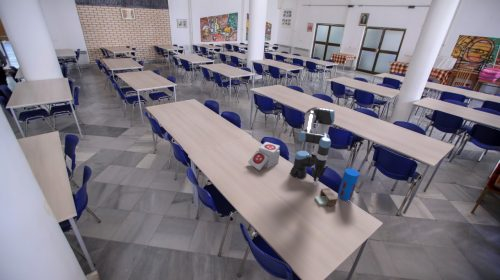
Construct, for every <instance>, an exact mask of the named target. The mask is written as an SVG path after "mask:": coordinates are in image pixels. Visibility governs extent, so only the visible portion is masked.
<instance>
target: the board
mask: <svg viewBox="0 0 500 280" xmlns="http://www.w3.org/2000/svg"><path fill="white" fill-rule="evenodd" d="M314 201H317V202H316V203H317V205H318V206H327V202H328V199H327V197H326V196H320V195H319V196H318V195H317V196H314Z"/></svg>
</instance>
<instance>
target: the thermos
mask: <svg viewBox="0 0 500 280" xmlns="http://www.w3.org/2000/svg"><path fill="white" fill-rule="evenodd" d="M359 176H360V172H359V171H358V170H356V169H354V168H351V167H349V168H348V167H347V168H345V170H344V172H343V175H342V178H341V183H340V185H339V188H338V191H337V192H338V193H337V198H339V199H341V200H342V201H347V200H348V202H349V201H351V199H352V196H353V195H354V191H355V188H356V186H357V183H358V181H359Z"/></svg>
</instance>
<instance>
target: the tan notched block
mask: <svg viewBox="0 0 500 280" xmlns="http://www.w3.org/2000/svg"><path fill="white" fill-rule="evenodd" d="M319 196H326V197H327V199H328V202H327V205H326V206H327V207H328V206H329V207H335V205H336V206H337V202H338V196H336V195H335V194H334V192H333V191H332V190H331V189H330V188H329V187H326V188H325V187H324V188H321V190H320V193H319Z"/></svg>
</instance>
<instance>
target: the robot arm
mask: <svg viewBox="0 0 500 280" xmlns="http://www.w3.org/2000/svg"><path fill="white" fill-rule="evenodd" d="M303 118H304V124H303V130H301V131H299V135H298V140H299V141H300V142H304V143H309V144H314V149H313V151H312V152H311V154H310V153H309V151H306V150H298V151H296V153H295V156H294V162H293V166H292V167H291V169H290V173H289V174H290V176H292V177H293V178H295V179H298V180H299V179H300V180H301V179H305V178H307V176H308V175H307V174H308V172H307V168H311V176H312V178H313V185H314V186H317V185H318V182H319V181H320V179H321V178H323V176H324V174H325V172H326V170H327V169H328V165H327V164H326V163H327V160H328V156H329V152H330V148H331V144H332V140H331V138H330V135H329V134H328V133H329V129H330V127H331V126H332V124H334V122H335V110H334V109H331V108H324V107H318V106H316V107H312V108H310V109H308V110H307V111H306V112H305V113H304V117H303ZM315 121H316V122H317V124H318V129H317V133H314V132H313V131H314V125H315Z"/></svg>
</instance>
